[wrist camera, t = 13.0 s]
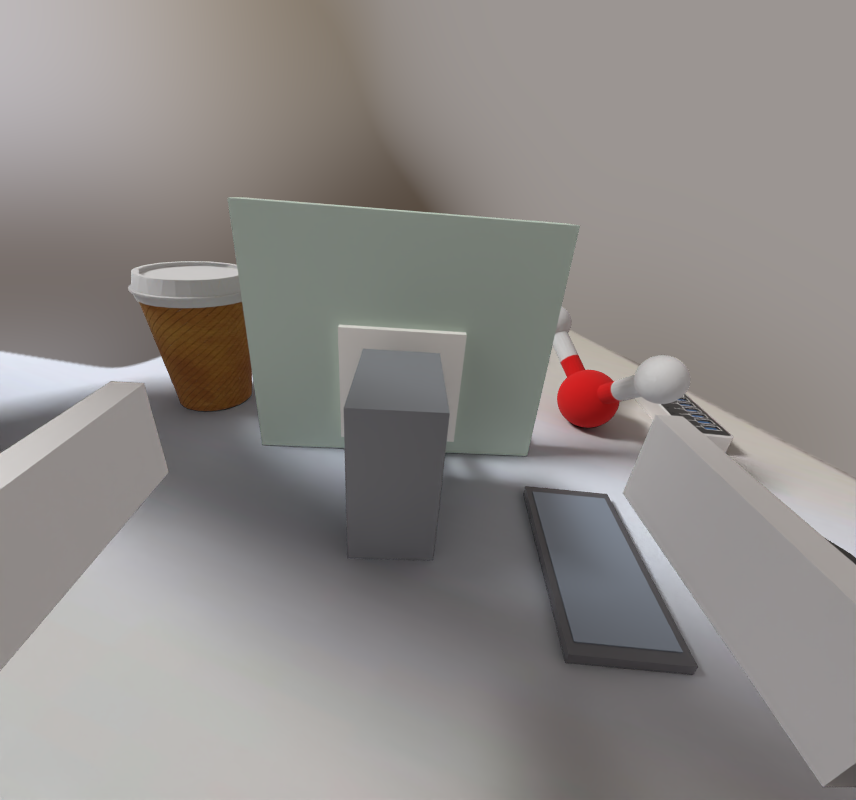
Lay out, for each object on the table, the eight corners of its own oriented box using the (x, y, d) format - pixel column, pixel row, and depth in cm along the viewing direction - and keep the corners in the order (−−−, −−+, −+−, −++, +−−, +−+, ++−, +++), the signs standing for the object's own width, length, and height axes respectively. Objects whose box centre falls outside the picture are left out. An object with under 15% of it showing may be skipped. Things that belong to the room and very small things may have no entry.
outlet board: (258, 451, 32) (221, 197, 23) (283, 409, 38) (261, 196, 29) (529, 462, 33) (585, 226, 25) (511, 420, 39) (551, 220, 31)
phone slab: (562, 669, 19) (569, 653, 18) (522, 498, 30) (525, 485, 29) (687, 681, 19) (698, 666, 18) (602, 506, 30) (607, 493, 29)
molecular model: (512, 387, 46) (528, 301, 41) (553, 384, 48) (573, 301, 43) (622, 483, 31) (667, 366, 27) (675, 473, 33) (725, 362, 28)
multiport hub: (676, 453, 37) (685, 432, 36) (631, 399, 46) (637, 381, 45) (725, 458, 36) (736, 437, 35) (670, 403, 46) (677, 385, 45)
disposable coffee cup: (288, 395, 40) (276, 273, 35) (192, 432, 33) (157, 286, 28) (235, 369, 45) (217, 257, 39) (141, 396, 38) (103, 265, 32)
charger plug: (347, 558, 23) (343, 407, 19) (365, 457, 32) (366, 338, 27) (433, 560, 23) (449, 413, 19) (427, 459, 32) (438, 342, 28)
